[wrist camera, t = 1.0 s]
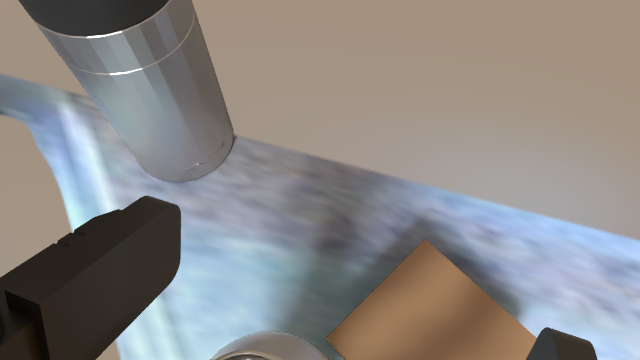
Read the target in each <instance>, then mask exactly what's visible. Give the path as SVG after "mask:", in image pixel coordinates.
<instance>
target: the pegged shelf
mask: <svg viewBox="0 0 640 360" xmlns="http://www.w3.org/2000/svg"><path fill="white" fill-rule="evenodd" d="M536 339H537V338H536V337H535V336H534V335H533V334H531V333H530V332H529V331H528V330H527V329H526V328H525V327H524V326H522V325H521V324H520V323H519V322H518V321H517V320H516V319H515V318H513V317H512V316H511V315H510V314H509V313H508V312H507V311H506V310H504V309H503V308H502V307H501V306H500V305H499V304H498V303H497V302H495V301H494V300H493V299H492V298H491V297H490V296H489V295H488V294H486V293H485V292H484V291H483V290H482V289H481V288H480V287H479V286H477V285H476V284H475V283H474V282H473V281H472V280H471V279H470V278H468V277H467V276H466V275H465V274H464V273H463V272H462V271H461V270H459V269H458V268H457V267H456V266H455V265H454V264H453V263H452V262H450V261H449V260H448V259H447V258H446V257H445V256H444V255H443V254H441V253H440V252H439V251H438V250H437V249H436V248H435V247H434V246H432V245H431V244H430V243H429V242H428V241H427V240H426V239H425V240H424V241H423V242H422V243H421V244H420V245H419V246H418V247H417V248H416V249H415V250H414V251H413V252H412V253H411V254H410V255H409V256H408V257H407V258H406V259H405V260H404V261H403V262H402V263H401V264H400V265H399V266H398V267H397V268H396V269H395V270H394V271H393V272H392V273H391V274H390V275H389V276H388V277H387V278H386V279H385V280H384V281H383V282H382V283H381V284H380V285H379V286H378V287H377V288H376V289H375V290H374V291H373V292H372V293H371V294H370V295H369V296H368V297H367V298H366V299H365V300H364V301H363V302H362V303H361V304H360V305H359V306H358V307H357V308H356V309H355V310H354V311H353V312H352V313H351V314H350V315H349V316H348V317H347V318H346V319H345V320H344V321H343V322H342V323H341V324H340V325H338V326H337V327H336V328H335V329H334V330H333V331H332V332H331V333H330V334H329V335H328V336H327V341H328V342H329V343H330V345H331V346H332V347H333V348H334V349H335V350H336V351H337V352H338V353H339V354H340V356H341V357H342V358H343V359H344V360H526V358H527V356H528V354H529V352H530V351H531V349H532V347H533V345H534V343H535V341H536Z"/></svg>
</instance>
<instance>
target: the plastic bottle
mask: <svg viewBox="0 0 640 360" xmlns="http://www.w3.org/2000/svg"><path fill="white" fill-rule="evenodd" d="M210 360H328V358H327V357H326V356H325V355H324V354H323V353H322V352H321V351H320V350H319V349H318V348H317V347H315V346H314V345H312V344H311V343H309V342H308V341H306V340H305V339H302V338H300V337H297V336H295V335H292V334H288V333H283V332H259V333H254V334H250V335H247V336H244V337H242V338H239V339H237V340H235V341H233V342H231V343H230V344H228V345H227V346H225V347H224V348H222V349H221V350H220V351H219V352H217V353H216V354H215V355H214V356H213V357H212V358H211V359H210Z"/></svg>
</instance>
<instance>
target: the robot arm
mask: <svg viewBox="0 0 640 360" xmlns="http://www.w3.org/2000/svg"><path fill="white" fill-rule="evenodd" d="M19 2H20V3H21V4H22V6H23V7H24V9H25V10H26V11H27V12H28V14H29V15H30V16H31V18H32V19H33V20H34V22H35V23H36V24H37V26H38V27H39V29H40V30H41V31H42V32H43V34H44V35H45V37H46V38H47V39H48V41H49V42H50V43H51V45H52V46H53V47H54V49H55V50H56V51H57V53H58V54H59V56H60V57H61V58H62V59H63V60H64V62H65V63H66V65H67V66H68V67H69V69H70V70H71V71H72V73H73V74H74V75H75V77H76V78H77V80H78V81H79V82H80V83H81V85H82V86H83V88H84V89H85V90H86V92H87V93H88V94H89V96H90V97H91V98H92V100H93V101H94V103H95V104H96V105H97V107H98V108H99V109H100V111H101V112H102V113H103V115H104V116H105V117H106V119H107V120H108V122H109V123H110V124H111V126H112V127H113V128H114V130H115V131H116V132H117V134H118V135H119V136H120V138H121V139H122V141H123V142H124V144H125V145H126V146H127V148H128V149H129V150H130V152H131V153H132V154H133V156H134V157H135V158H136V160H137V161H138V162H139V164H140V165H141V166H142V167H143V169H144V170H145V171H146V172H147V173H149V174H150V175H152V176H153V177H155V178H158V179H160V180H163V181H169V182H186V181H190V180H195V179H197V178H200V177H202V176H205V175H207V174H208V173H210V172H211V171H213V170H214V169H216V168H217V167H218V166H219V165H220V164H221V163H222V162H223V161H224V159H225V158H226V157H227V155H228V153H229V151H230V149H231V147H232V142H233V128H232V124H231V121H230V118H229V115H228V112H227V108H226V105H225V102H224V98H223V95H222V92H221V89H220V86H219V83H218V80H217V77H216V74H215V71H214V67H213V64H212V62H211V58H210V55H209V52H208V49H207V46H206V43H205V40H204V37H203V34H202V31H201V27H200V24H199V22H198V18H197V15H196V12H195V9H194V6H193V4H192V0H19ZM180 250H181V212H180V209H179V207H178V206H177V205H175V204H172V203H169V202H166V201H163V200H160V199H156V198H153V197H150V196H143V197H141V198H140V199H138V200H137V201H135V202H134V203H132V204H131V205H129V206H128V207H126V208H125V209H123V210H119V209H118V210H115V211H112V212H109V213H106V214H103V215H100V216H97V217H94V218H92V219H91V220H89V221H88V222H86V223H85V224H83V225H81V226H80V227H78V228H77V229H75V230H74V233H69V234H68V235H66V236H64V237H63V238H61V239H60V240H58V242H57V244H52V245H50V246H49V247H47V248H46V249H44V250H42V251H41V252H39V253H38V254H36V255H35V256H33V257H32V258H30V259H28V260H27V261H25V262H24V263H22V264H21V265H19V266H18V267H16V268H14V269H13V270H11V271H10V272H8V273H7V274H5V275H4V276H2V277H0V360H96V359H97V358H98V357H99V356H100V355H101V353H102V352H103V351H104V350H105V349H106V348H107V347H108V346H109V345H110V344H111V343H112V342H113V341H114V340H115V339H116V338H117V337H118V336H119V335H120V334H121V333H122V332H123V331H124V330H125V329H126V328H127V327H128V326H129V325H130V324H131V323H132V322H133V321H134V320H135V319H136V318H137V317H138V316H139V315H140V314H141V313H142V312H143V311H144V310H145V309H146V308H147V307H148V306H149V305H150V304H151V303H152V302H153V301H154V300H155V298H156V297H157V296H158V295H159V294H160V293H161V292H162V291H163V290H164V289H165V288H166V287H167V286H168V285H169V284H170V283H171V282H172V280H173V279H174V277H175V275H176V273H177V270H178V268H179V264H180ZM526 360H597V356H596V353H595V350H594V347H593V345H592V344H591V342H590V341H588V340H585V339H582V338H579V337H575V336H572V335H569V334H566V333H563V332H560V331H557V330H554V329H551V328H548V327H547V328H544V329H543V330H542V331H541V332H540V334H539V336H538V338H537V339H536V341H535V343H534V345H533V347H532V349H531V351H530V352H529V354H528V356H527V358H526Z"/></svg>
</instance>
